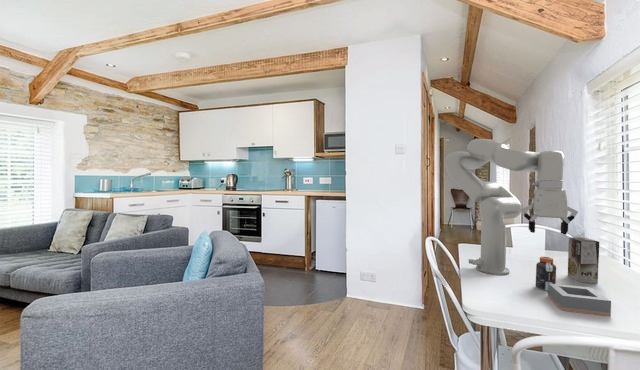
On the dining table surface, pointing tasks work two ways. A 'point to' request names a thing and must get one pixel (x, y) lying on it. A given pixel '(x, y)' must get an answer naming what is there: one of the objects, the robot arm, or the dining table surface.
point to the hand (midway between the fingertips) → (547, 233)
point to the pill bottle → (545, 273)
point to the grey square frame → (579, 299)
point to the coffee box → (583, 259)
